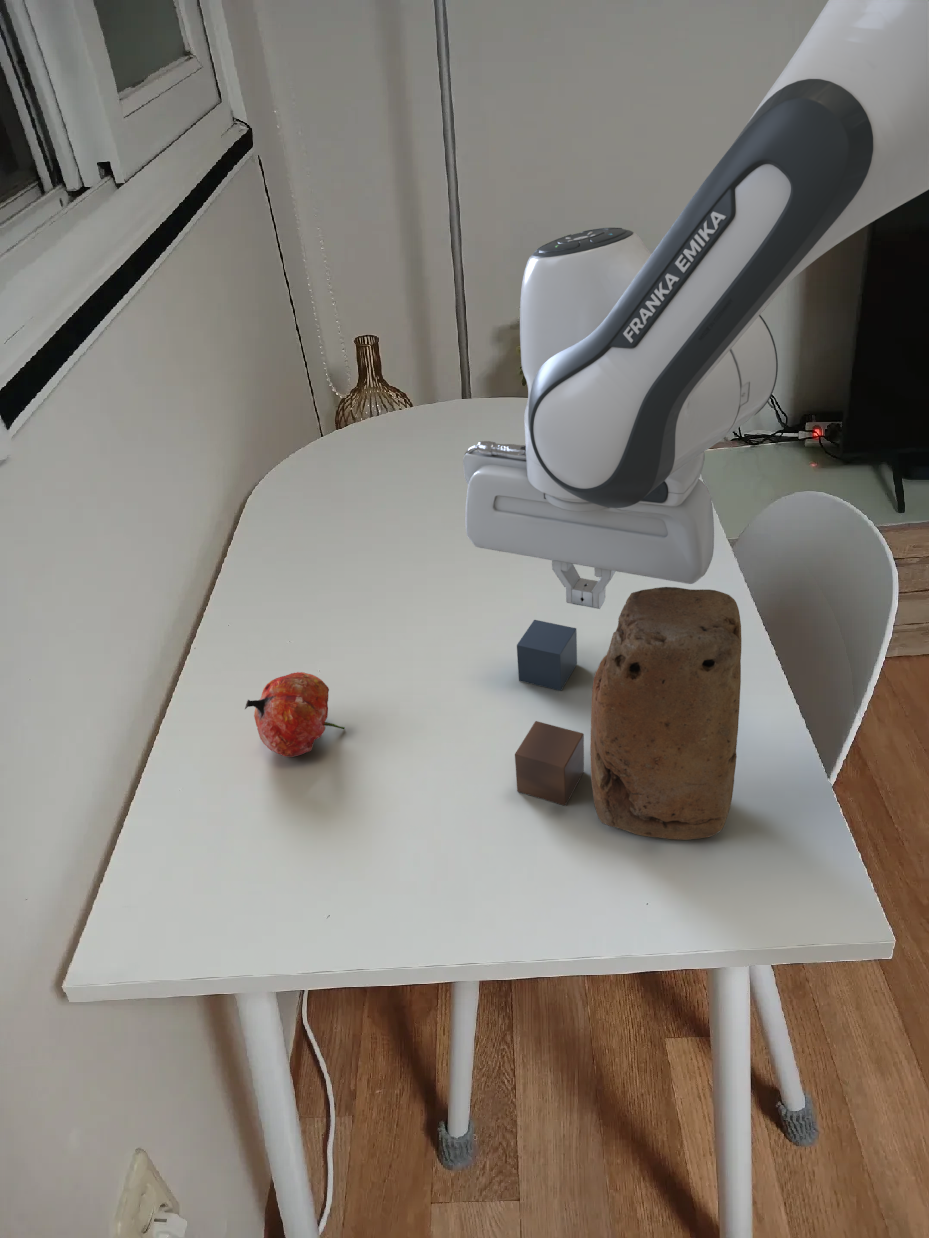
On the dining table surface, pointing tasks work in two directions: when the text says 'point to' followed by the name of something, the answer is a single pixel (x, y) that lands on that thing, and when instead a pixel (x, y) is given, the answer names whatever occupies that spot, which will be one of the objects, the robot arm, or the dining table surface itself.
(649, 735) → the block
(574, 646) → the slate cube
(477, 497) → the robot arm
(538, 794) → the walnut cube
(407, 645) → the dining table surface
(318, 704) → the pomegranate
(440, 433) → the dining table surface
